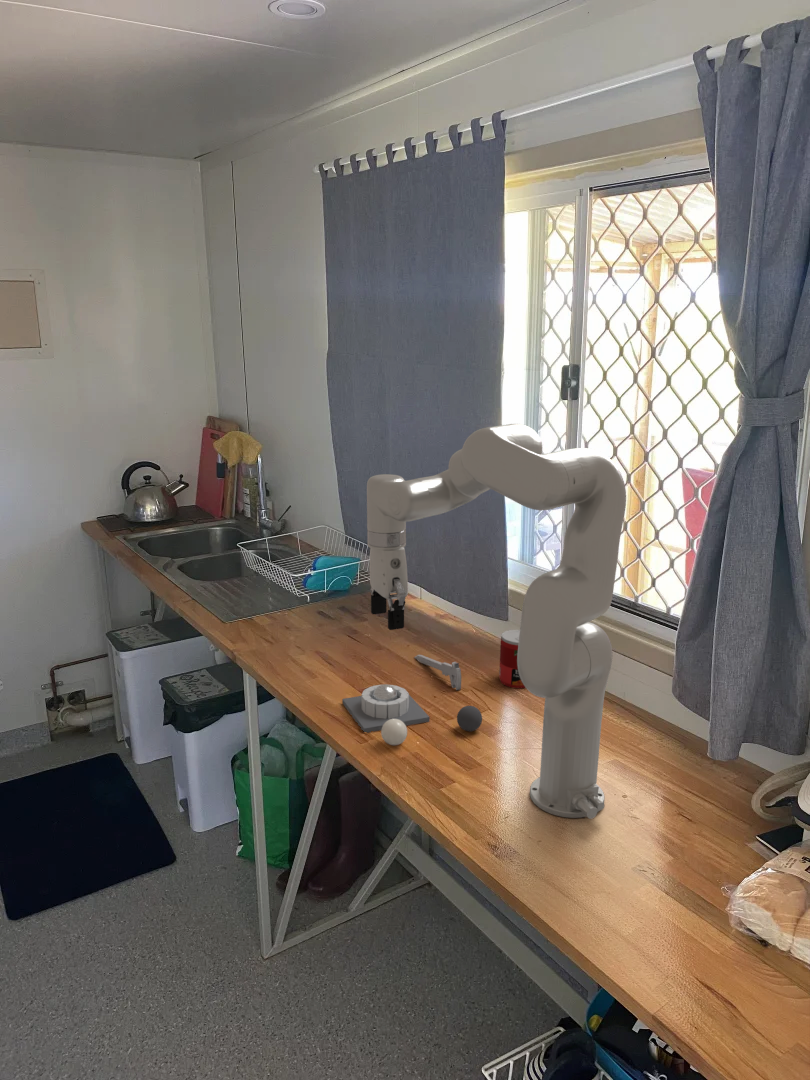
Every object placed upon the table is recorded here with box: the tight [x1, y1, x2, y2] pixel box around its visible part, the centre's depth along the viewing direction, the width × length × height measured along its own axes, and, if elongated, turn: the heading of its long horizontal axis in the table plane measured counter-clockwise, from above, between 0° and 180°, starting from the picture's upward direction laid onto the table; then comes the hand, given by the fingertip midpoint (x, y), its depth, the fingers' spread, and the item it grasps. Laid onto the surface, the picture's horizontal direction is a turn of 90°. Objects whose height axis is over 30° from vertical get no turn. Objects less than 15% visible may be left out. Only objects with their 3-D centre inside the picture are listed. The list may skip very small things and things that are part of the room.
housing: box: [341, 684, 430, 733], centre depth 176 cm, size 14×14×4 cm
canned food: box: [498, 629, 526, 689], centre depth 191 cm, size 8×8×11 cm
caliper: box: [413, 654, 462, 691], centre depth 195 cm, size 20×1×6 cm, turn 27°
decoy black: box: [456, 705, 483, 732], centre depth 169 cm, size 5×5×5 cm
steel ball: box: [373, 683, 397, 702], centre depth 176 cm, size 5×5×5 cm
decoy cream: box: [380, 719, 408, 746], centre depth 163 cm, size 5×5×5 cm
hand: (387, 620), depth 171 cm, fingers open, 9 cm apart
